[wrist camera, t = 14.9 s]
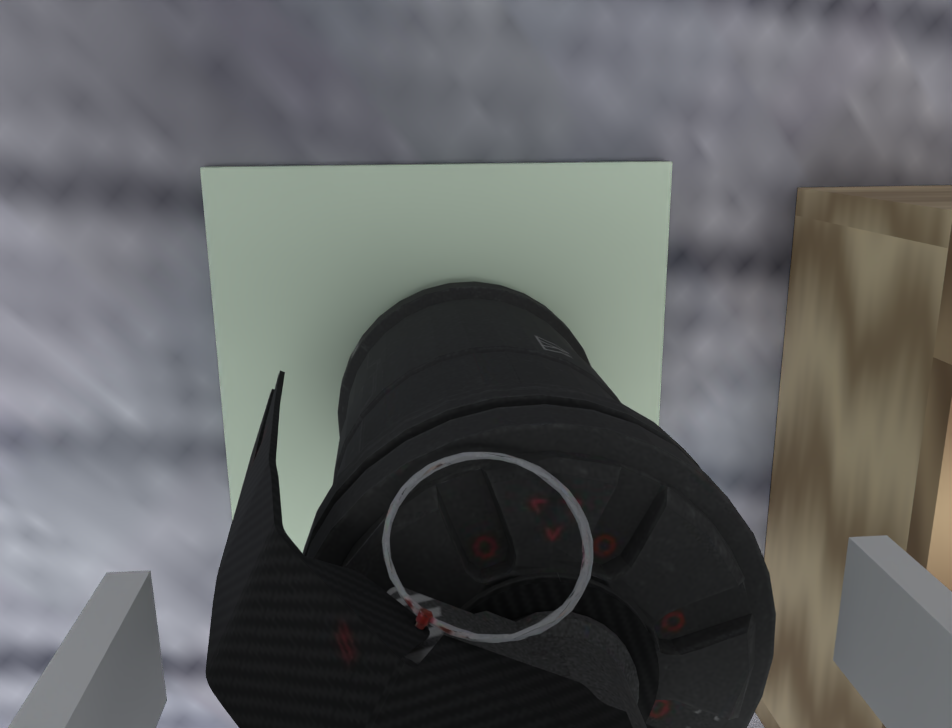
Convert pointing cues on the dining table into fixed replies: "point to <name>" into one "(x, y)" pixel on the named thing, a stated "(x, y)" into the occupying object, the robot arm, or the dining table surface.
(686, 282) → the dining table surface
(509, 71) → the dining table surface
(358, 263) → the board
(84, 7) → the dining table surface
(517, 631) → the black shaker bottle
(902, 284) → the crate
